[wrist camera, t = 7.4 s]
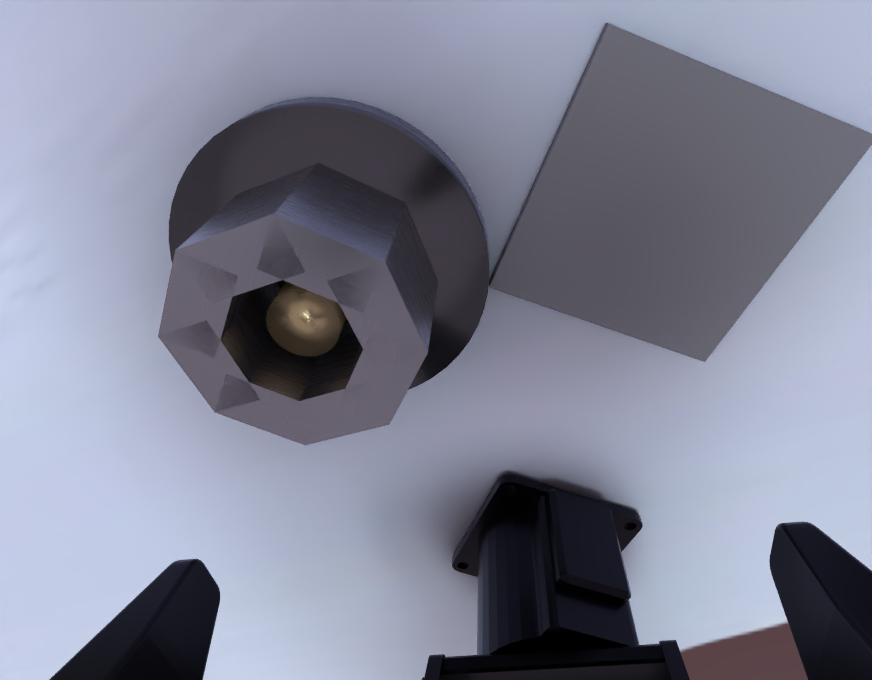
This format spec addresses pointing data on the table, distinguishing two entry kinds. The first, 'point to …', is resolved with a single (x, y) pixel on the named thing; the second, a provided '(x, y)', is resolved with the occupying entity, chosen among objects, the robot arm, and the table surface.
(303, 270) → the ring
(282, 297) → the hub
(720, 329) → the stand pad
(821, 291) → the table surface
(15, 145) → the table surface
